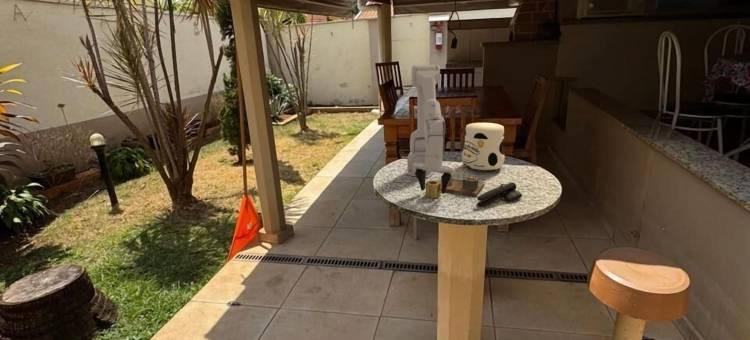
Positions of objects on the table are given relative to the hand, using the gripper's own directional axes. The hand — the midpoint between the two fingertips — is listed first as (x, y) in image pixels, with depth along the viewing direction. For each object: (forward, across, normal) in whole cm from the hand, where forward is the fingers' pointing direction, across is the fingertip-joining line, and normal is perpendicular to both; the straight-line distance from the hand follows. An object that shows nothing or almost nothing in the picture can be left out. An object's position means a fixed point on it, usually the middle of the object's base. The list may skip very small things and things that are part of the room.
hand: (433, 191), depth 136 cm
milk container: (+2, +8, +38) cm, 39 cm away
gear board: (+2, +6, +11) cm, 13 cm away
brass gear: (+2, 0, 0) cm, 2 cm away
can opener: (+2, +21, +5) cm, 22 cm away
